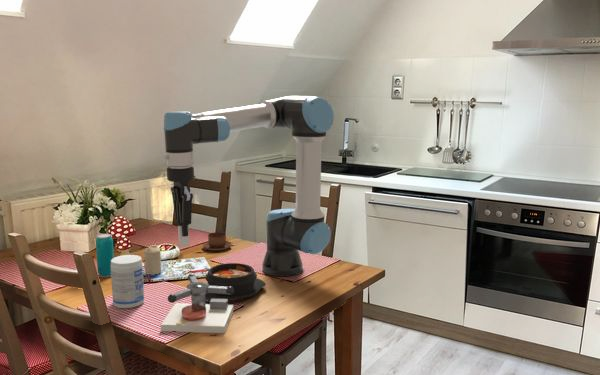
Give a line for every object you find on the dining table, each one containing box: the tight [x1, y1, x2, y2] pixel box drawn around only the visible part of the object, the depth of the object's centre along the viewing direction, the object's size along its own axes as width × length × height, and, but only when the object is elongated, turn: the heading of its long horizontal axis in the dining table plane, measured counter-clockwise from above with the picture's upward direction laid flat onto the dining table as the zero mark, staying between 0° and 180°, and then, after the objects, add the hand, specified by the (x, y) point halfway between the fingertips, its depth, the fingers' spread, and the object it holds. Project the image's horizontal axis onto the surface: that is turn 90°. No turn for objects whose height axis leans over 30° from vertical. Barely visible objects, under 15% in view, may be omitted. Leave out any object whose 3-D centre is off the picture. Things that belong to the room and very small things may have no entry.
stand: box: [160, 299, 235, 334], centre depth 158 cm, size 18×15×4 cm
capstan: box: [167, 273, 234, 321], centre depth 155 cm, size 17×19×9 cm
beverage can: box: [95, 233, 115, 279], centre depth 193 cm, size 6×6×15 cm
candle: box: [144, 245, 162, 275], centre depth 197 cm, size 6×6×10 cm
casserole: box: [204, 262, 267, 303], centre depth 178 cm, size 25×19×8 cm
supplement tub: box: [110, 254, 145, 309], centre depth 169 cm, size 10×10×15 cm
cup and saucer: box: [202, 231, 232, 252], centre depth 227 cm, size 12×12×6 cm
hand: (184, 245), depth 157 cm, fingers closed
